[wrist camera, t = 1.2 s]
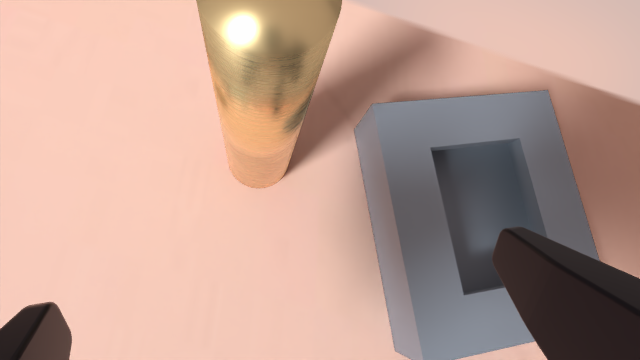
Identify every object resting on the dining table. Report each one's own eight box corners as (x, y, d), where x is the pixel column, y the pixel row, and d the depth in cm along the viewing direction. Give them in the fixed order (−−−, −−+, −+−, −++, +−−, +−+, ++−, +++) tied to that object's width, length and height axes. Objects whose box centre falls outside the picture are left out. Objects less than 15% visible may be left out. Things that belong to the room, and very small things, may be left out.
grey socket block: (561, 315, 22) (618, 322, 18) (395, 351, 20) (424, 366, 16) (506, 115, 24) (547, 90, 21) (354, 129, 22) (372, 103, 19)
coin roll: (300, 158, 21) (369, -6, 9) (260, 200, 20) (275, 82, 8) (257, 119, 21) (266, -96, 9) (215, 159, 20) (161, -19, 8)
